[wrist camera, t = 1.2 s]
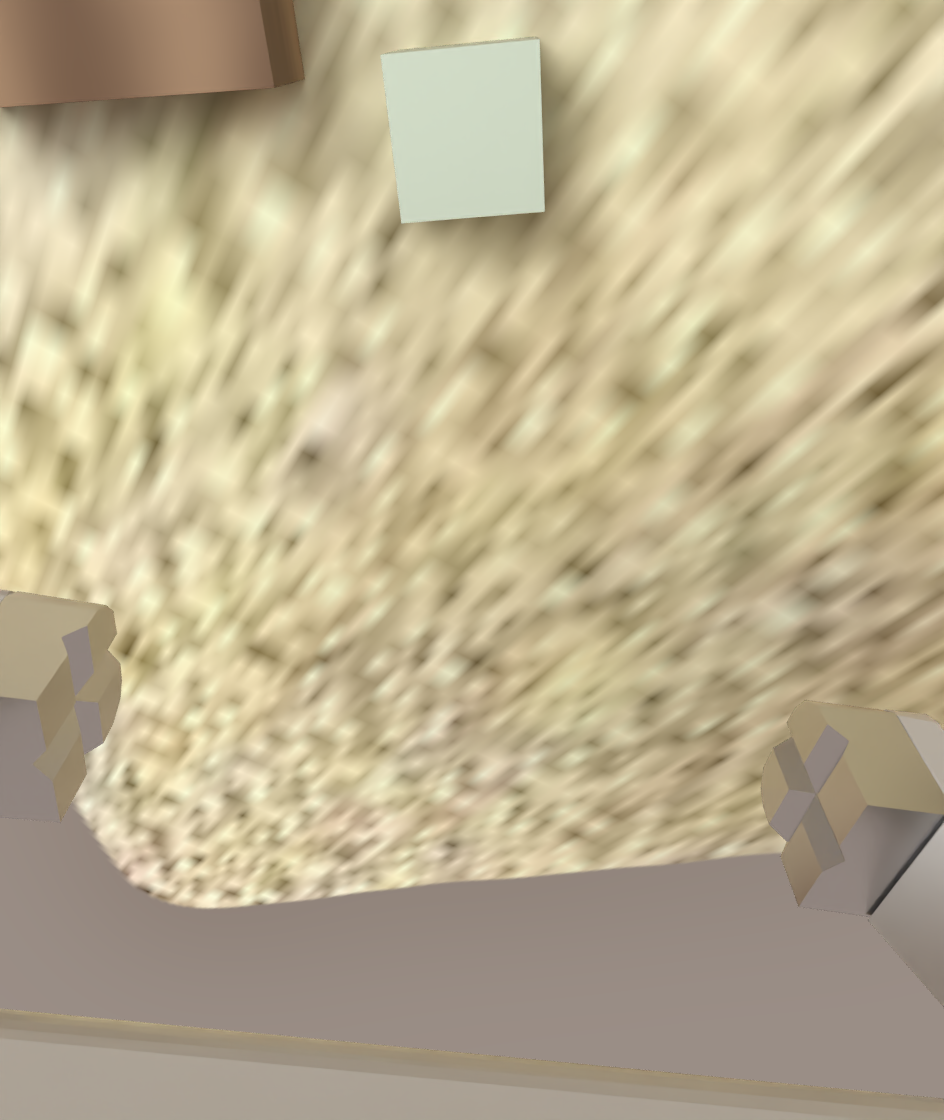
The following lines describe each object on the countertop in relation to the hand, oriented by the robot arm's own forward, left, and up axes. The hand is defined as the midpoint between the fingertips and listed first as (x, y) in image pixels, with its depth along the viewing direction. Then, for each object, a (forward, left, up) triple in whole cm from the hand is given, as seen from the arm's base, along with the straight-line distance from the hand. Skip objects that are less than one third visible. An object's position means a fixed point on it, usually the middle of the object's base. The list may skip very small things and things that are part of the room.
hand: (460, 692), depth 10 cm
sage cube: (+1, -4, -28) cm, 28 cm away
